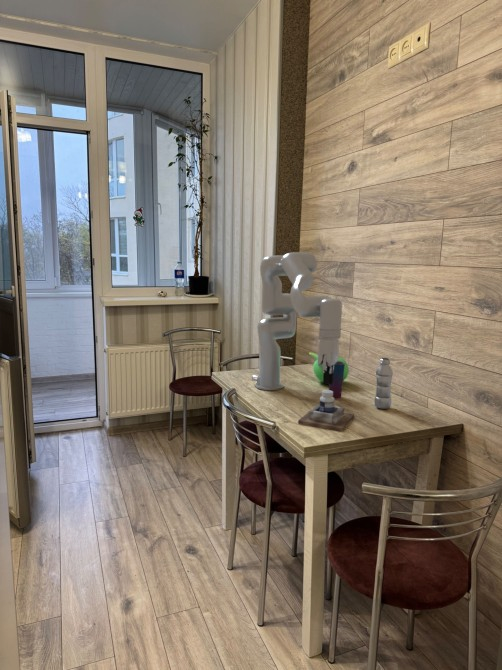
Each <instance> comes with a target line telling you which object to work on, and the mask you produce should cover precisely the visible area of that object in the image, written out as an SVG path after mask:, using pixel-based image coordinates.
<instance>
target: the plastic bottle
mask: <svg viewBox="0 0 502 670" xmlns="http://www.w3.org/2000/svg"><path fill="white" fill-rule="evenodd" d="M393 374H394V371H393V368H392V366H391V359H390V358H388V357H380V360H379V366H378V367H377V368H376V370H375V377H376V389H375V396H374V400H373V401H374V407H375V408H377V409H381V410H382V409H383V410H388V409H390V407H391V406H392V394H391V391H392V390H391V388H392V387H391V386H392V379H393Z"/></svg>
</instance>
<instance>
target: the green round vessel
mask: <svg viewBox="0 0 502 670" xmlns="http://www.w3.org/2000/svg"><path fill="white" fill-rule="evenodd" d="M308 355H309V356H310V357H312V358H313V359H314V363H313V366H312V370H313V373H314V376H315V378H316V379H317V380H318V381H320V382H321V383H323V374H324V373H323V370H322V367H323V364H322V365H320V366H319V365H318V353H314V352H308ZM338 361H342V362H344V363H345V366H344V375H343V382H344V381H345V380H346V379H347V378H348V376H349V372H350V371H349V364H348V362H347V360H345V359H344V357H342V356H340V355H338Z"/></svg>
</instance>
